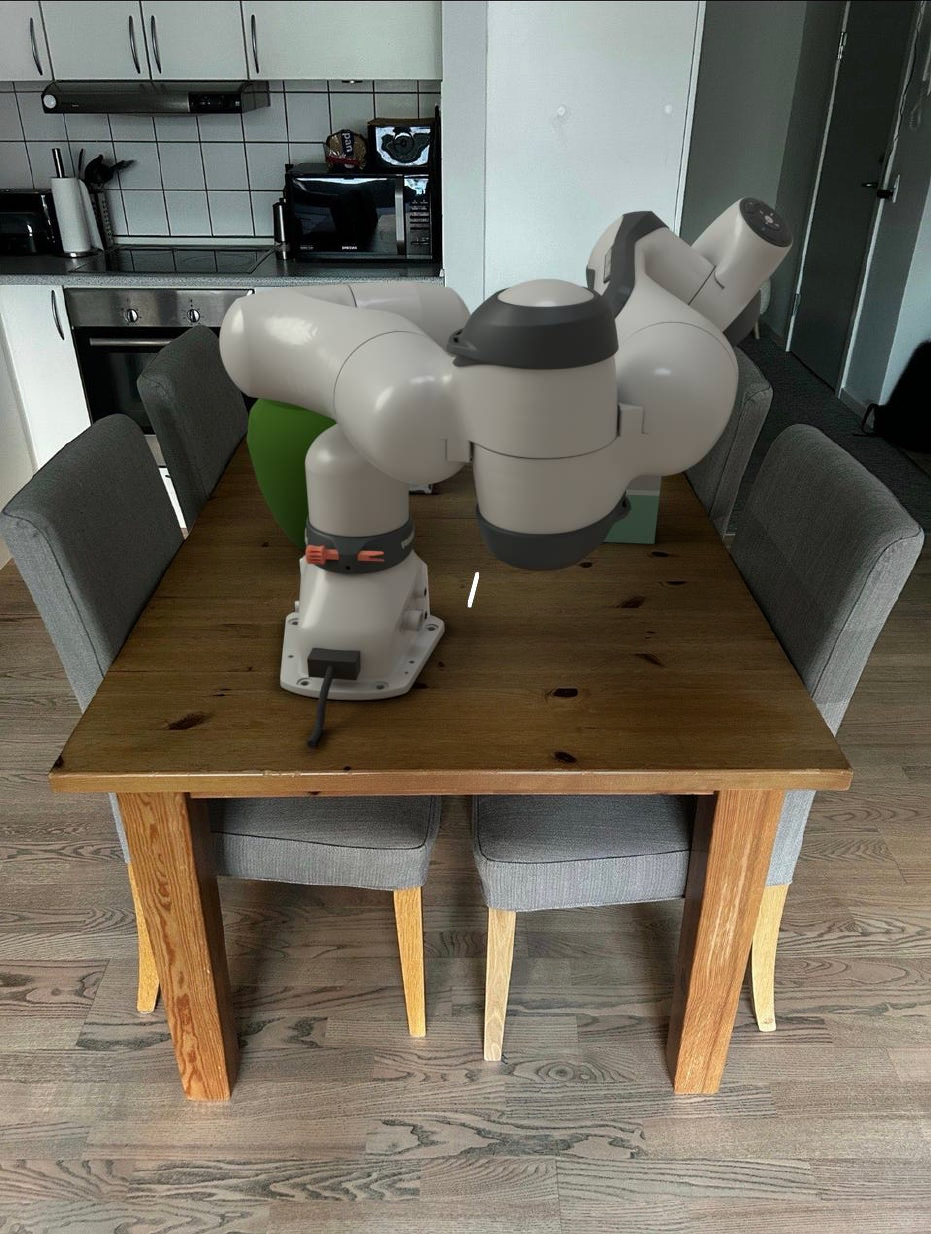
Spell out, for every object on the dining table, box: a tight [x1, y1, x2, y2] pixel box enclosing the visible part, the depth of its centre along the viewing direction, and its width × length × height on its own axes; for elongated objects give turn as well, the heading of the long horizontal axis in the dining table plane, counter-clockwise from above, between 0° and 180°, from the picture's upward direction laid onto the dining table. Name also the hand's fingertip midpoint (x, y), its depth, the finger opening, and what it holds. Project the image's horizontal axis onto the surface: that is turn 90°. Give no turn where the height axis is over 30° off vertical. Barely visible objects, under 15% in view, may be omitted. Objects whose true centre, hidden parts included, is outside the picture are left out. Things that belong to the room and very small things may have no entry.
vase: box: [246, 398, 337, 552], centre depth 127 cm, size 20×20×24 cm
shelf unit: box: [602, 476, 663, 545], centre depth 135 cm, size 13×14×24 cm
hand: (628, 374), depth 125 cm, fingers closed on beer can, 6 cm apart
